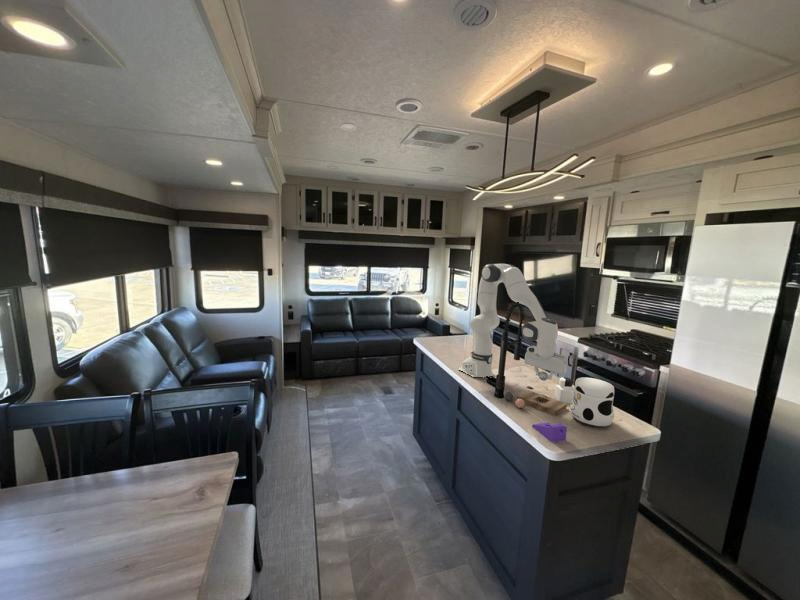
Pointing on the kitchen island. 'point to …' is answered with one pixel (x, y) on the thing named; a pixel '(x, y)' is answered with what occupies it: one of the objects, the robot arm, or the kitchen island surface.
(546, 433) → the bracket
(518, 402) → the terracotta ball
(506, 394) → the rubber ball
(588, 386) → the doce de leite tub
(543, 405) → the hole plate
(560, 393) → the medicine bottle
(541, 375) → the steel ball
